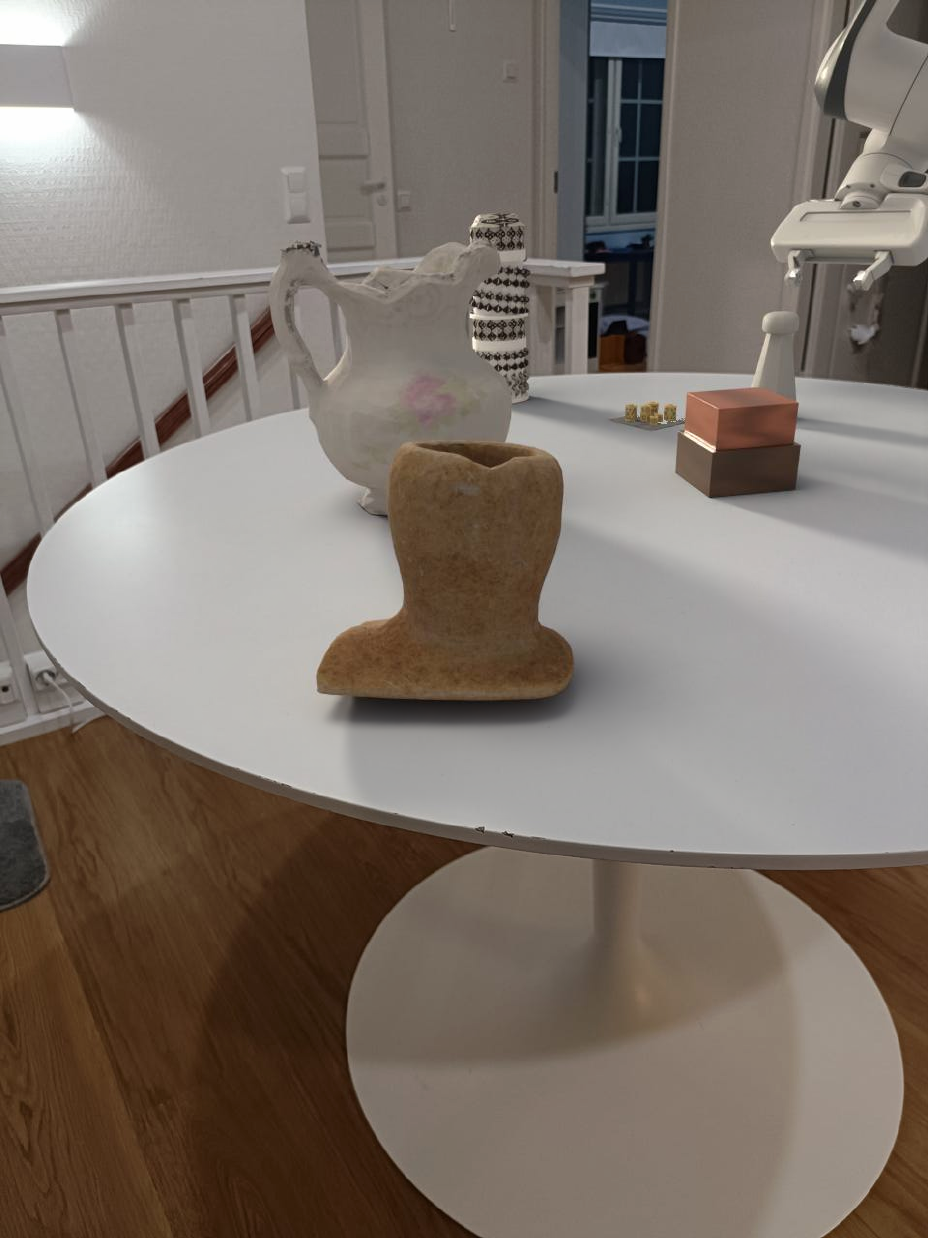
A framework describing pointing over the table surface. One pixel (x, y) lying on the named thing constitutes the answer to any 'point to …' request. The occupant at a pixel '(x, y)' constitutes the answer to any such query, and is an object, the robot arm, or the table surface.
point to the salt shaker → (778, 354)
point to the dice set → (649, 416)
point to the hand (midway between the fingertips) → (824, 285)
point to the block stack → (738, 442)
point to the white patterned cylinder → (503, 302)
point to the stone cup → (463, 580)
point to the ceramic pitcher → (395, 360)
